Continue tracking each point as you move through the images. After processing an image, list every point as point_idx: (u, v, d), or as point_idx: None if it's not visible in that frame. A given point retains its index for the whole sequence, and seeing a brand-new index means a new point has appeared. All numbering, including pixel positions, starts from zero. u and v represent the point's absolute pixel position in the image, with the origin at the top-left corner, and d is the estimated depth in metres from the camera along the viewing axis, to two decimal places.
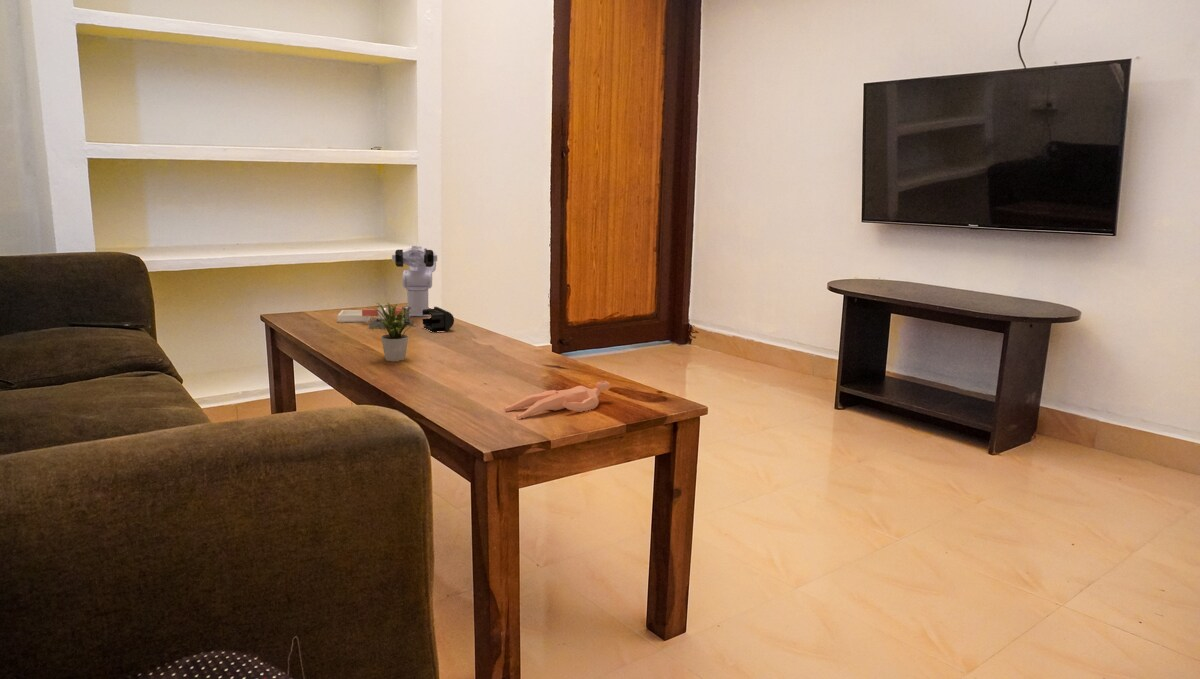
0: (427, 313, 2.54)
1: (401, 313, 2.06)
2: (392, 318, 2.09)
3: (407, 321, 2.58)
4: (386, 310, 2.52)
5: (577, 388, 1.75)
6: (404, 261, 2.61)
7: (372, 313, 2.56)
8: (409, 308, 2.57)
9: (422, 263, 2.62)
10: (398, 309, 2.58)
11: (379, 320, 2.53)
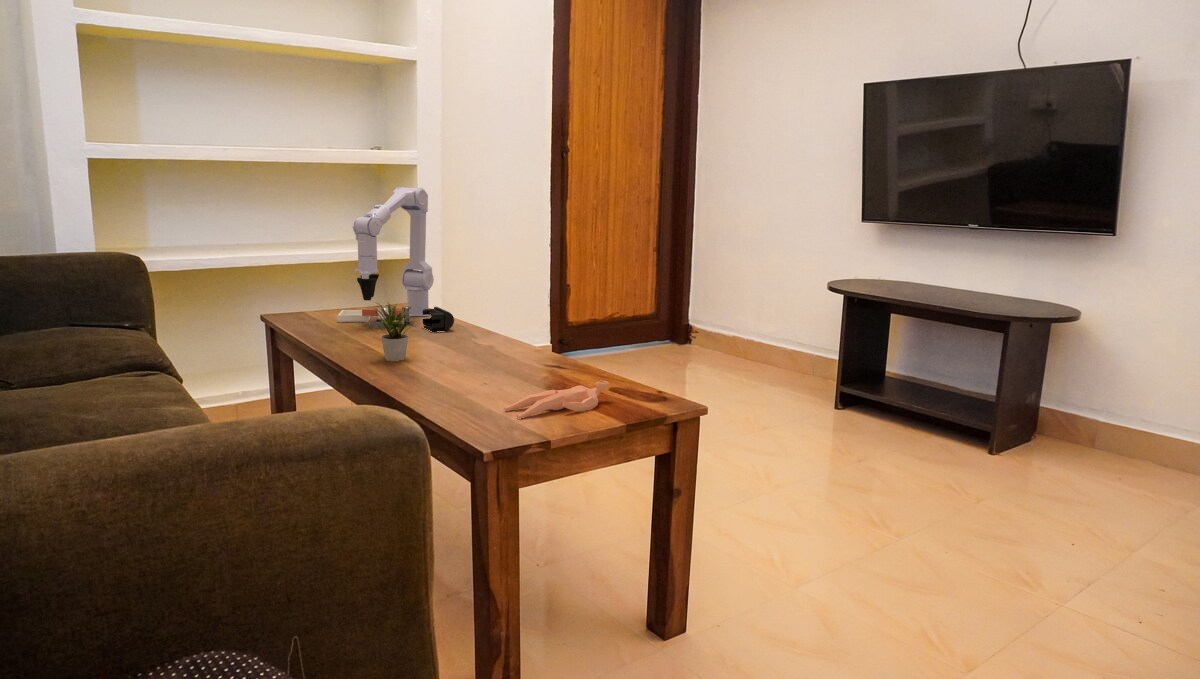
0: (427, 313, 2.54)
1: (401, 313, 2.06)
2: (392, 318, 2.09)
3: (407, 321, 2.58)
4: (386, 310, 2.52)
5: (577, 388, 1.75)
6: None
7: (372, 313, 2.56)
8: (409, 308, 2.57)
9: None
10: (398, 309, 2.58)
11: (379, 320, 2.53)
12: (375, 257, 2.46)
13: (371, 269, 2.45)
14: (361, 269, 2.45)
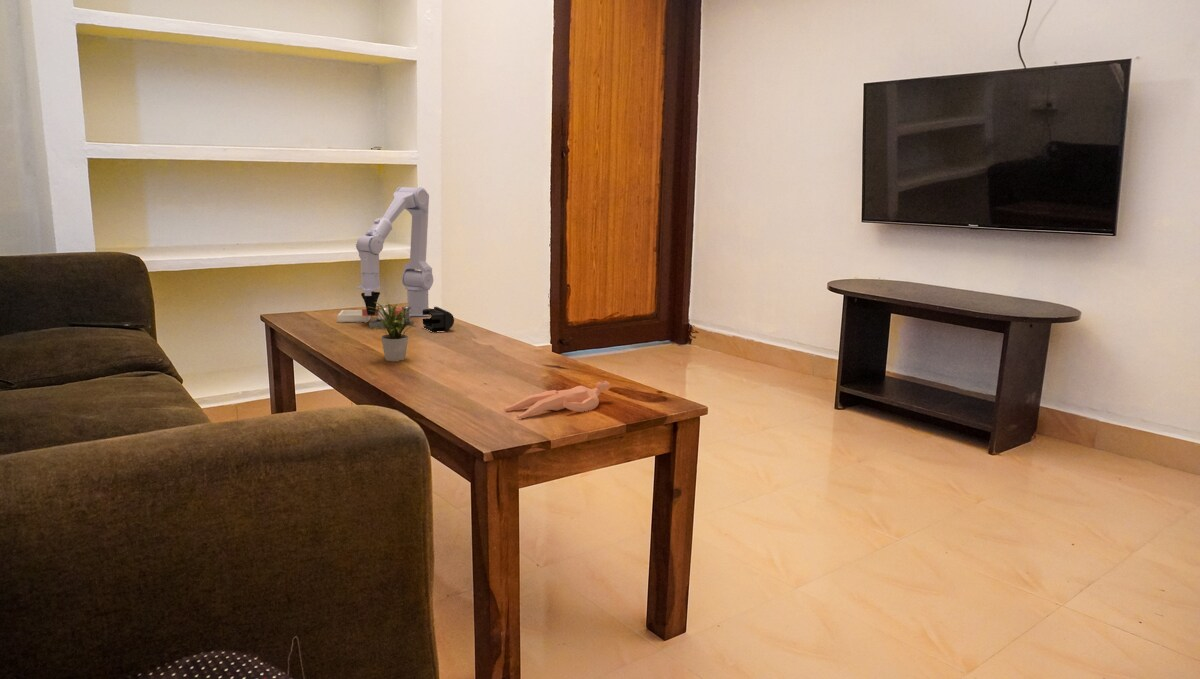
0: (427, 313, 2.54)
1: (401, 313, 2.06)
2: (392, 318, 2.09)
3: (407, 321, 2.58)
4: (386, 310, 2.52)
5: (577, 388, 1.75)
6: None
7: None
8: (409, 308, 2.57)
9: None
10: (398, 309, 2.58)
11: (379, 320, 2.53)
12: (377, 274, 2.52)
13: (374, 286, 2.51)
14: (364, 286, 2.51)
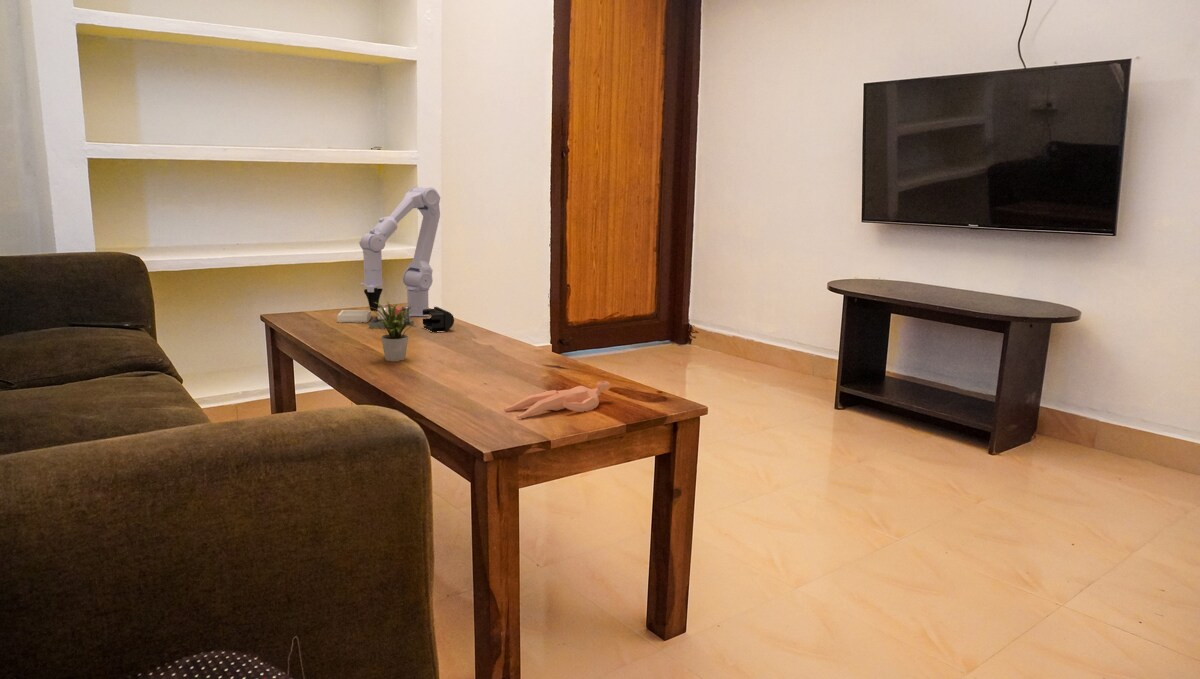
0: (427, 313, 2.54)
1: (401, 313, 2.06)
2: (392, 318, 2.09)
3: (407, 321, 2.58)
4: (386, 310, 2.52)
5: (577, 388, 1.75)
6: None
7: None
8: (409, 308, 2.57)
9: (377, 286, 2.59)
10: (401, 308, 2.60)
11: (379, 320, 2.53)
12: (380, 271, 2.59)
13: (376, 283, 2.58)
14: (367, 283, 2.58)
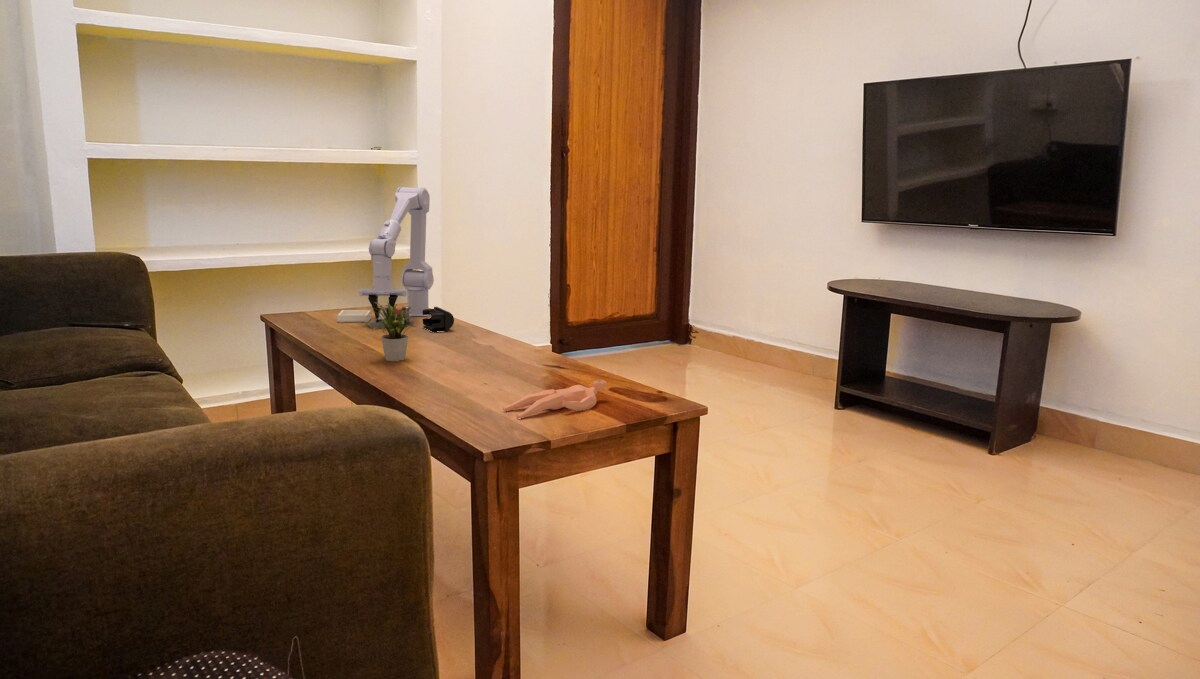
0: (427, 313, 2.54)
1: (401, 313, 2.06)
2: (392, 318, 2.09)
3: (407, 321, 2.58)
4: (386, 310, 2.52)
5: (575, 387, 1.75)
6: None
7: None
8: (409, 308, 2.57)
9: None
10: (401, 308, 2.60)
11: (379, 320, 2.53)
12: None
13: None
14: (389, 289, 2.51)
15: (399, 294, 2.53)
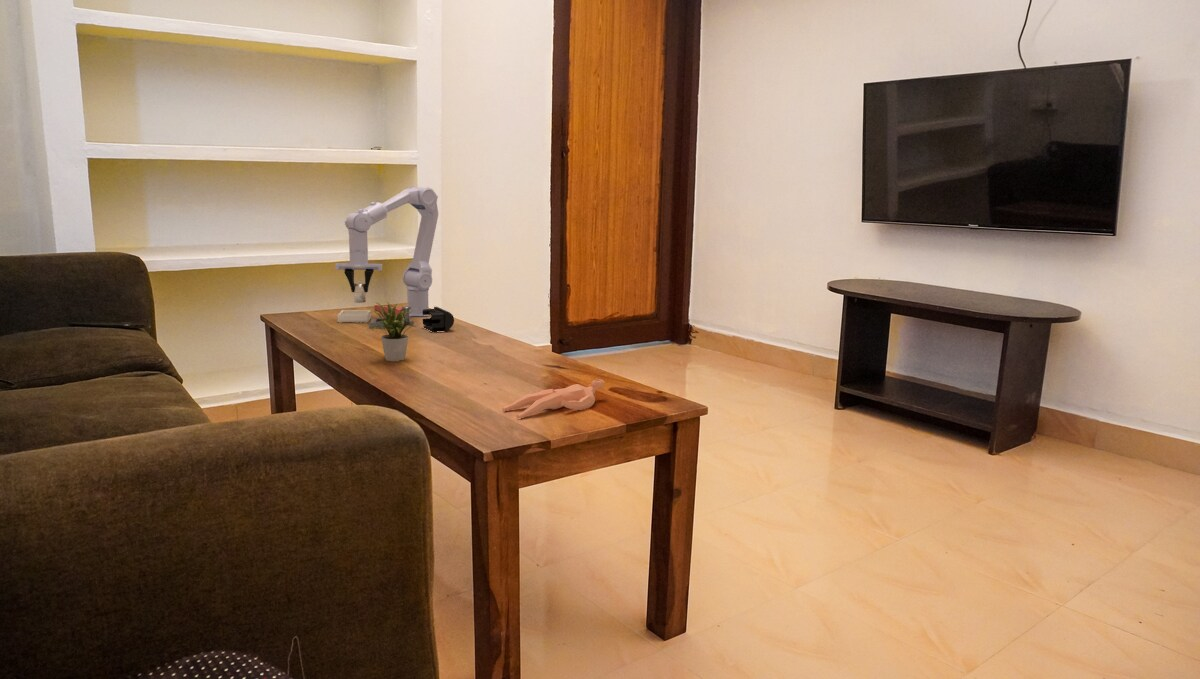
0: (427, 313, 2.54)
1: (401, 313, 2.06)
2: (392, 318, 2.09)
3: (407, 321, 2.58)
4: (363, 286, 2.57)
5: (573, 387, 1.76)
6: None
7: (381, 309, 2.63)
8: (409, 308, 2.57)
9: None
10: (401, 308, 2.60)
11: (356, 296, 2.57)
12: None
13: None
14: (365, 263, 2.55)
15: (375, 268, 2.57)
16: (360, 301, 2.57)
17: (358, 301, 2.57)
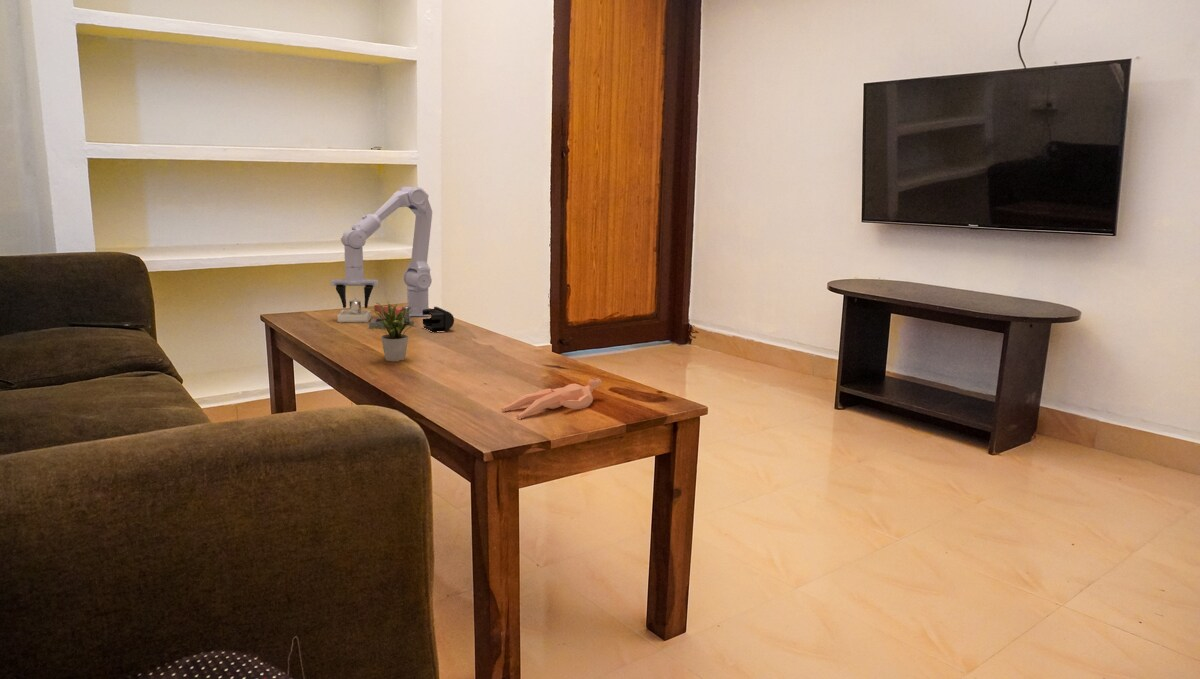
0: (427, 313, 2.54)
1: (401, 313, 2.06)
2: (392, 318, 2.09)
3: (407, 321, 2.58)
4: (358, 303, 2.59)
5: (571, 386, 1.76)
6: None
7: (381, 309, 2.63)
8: (409, 308, 2.57)
9: None
10: (401, 308, 2.60)
11: (352, 313, 2.59)
12: None
13: None
14: (361, 279, 2.58)
15: (370, 284, 2.60)
16: None
17: None
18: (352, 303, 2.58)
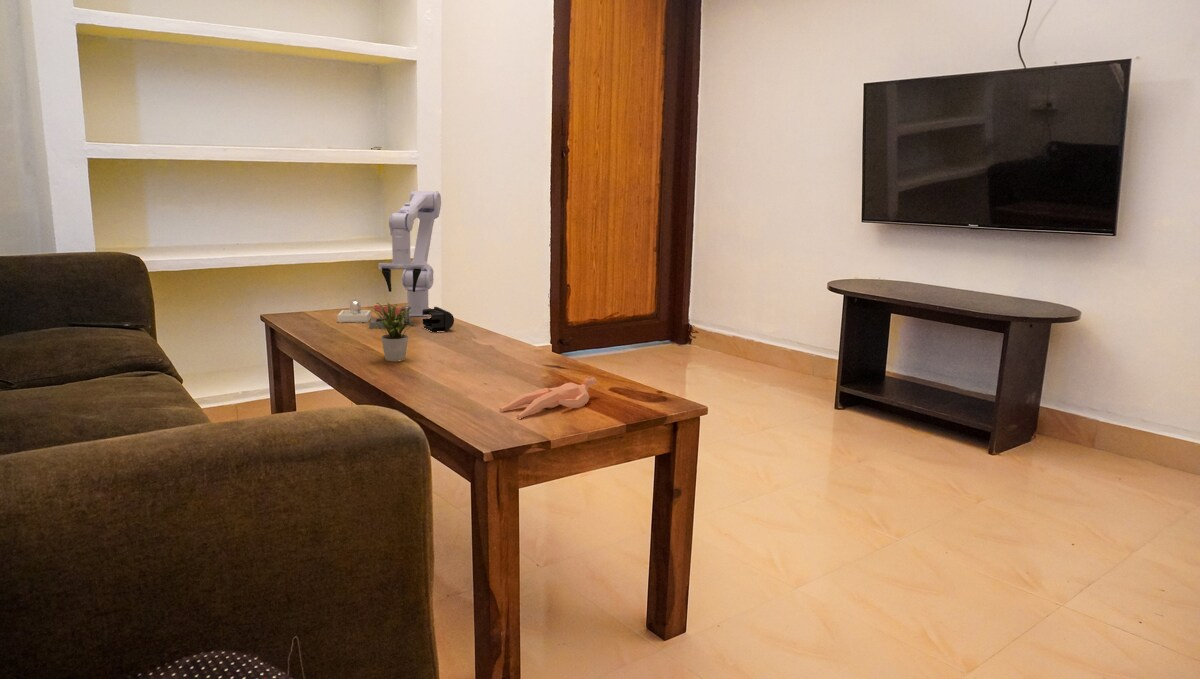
0: (427, 313, 2.54)
1: (401, 313, 2.06)
2: (392, 318, 2.09)
3: (407, 321, 2.58)
4: (358, 303, 2.59)
5: (568, 385, 1.77)
6: None
7: (381, 309, 2.63)
8: (409, 308, 2.57)
9: None
10: (401, 308, 2.60)
11: (351, 313, 2.59)
12: None
13: None
14: (408, 263, 2.56)
15: (417, 268, 2.58)
16: None
17: None
18: (352, 303, 2.59)
